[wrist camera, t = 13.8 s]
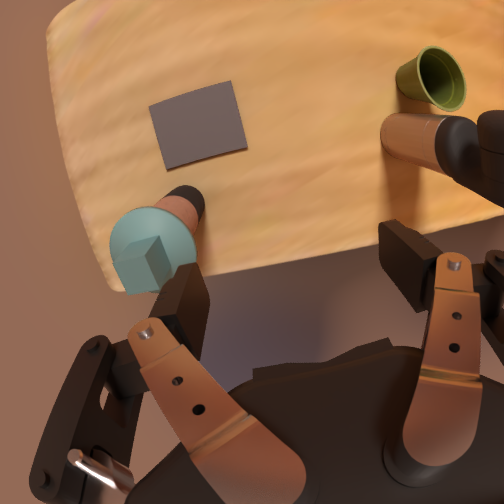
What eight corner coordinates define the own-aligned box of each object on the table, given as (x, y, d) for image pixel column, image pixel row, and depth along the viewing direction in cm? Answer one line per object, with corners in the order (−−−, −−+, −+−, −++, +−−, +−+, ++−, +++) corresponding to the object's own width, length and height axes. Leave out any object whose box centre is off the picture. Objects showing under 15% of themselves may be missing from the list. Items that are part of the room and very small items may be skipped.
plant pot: (404, 119, 41) (438, 122, 31) (374, 66, 37) (404, 55, 27) (440, 98, 38) (475, 99, 28) (413, 48, 34) (446, 39, 24)
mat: (230, 81, 39) (230, 80, 39) (247, 146, 45) (247, 147, 44) (149, 106, 41) (148, 106, 40) (167, 168, 46) (166, 169, 45)
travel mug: (214, 200, 49) (194, 247, 31) (190, 230, 51) (161, 288, 34) (182, 175, 47) (142, 208, 29) (159, 206, 49) (114, 253, 31)
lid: (180, 195, 28) (164, 212, 23) (209, 280, 33) (202, 310, 28) (100, 220, 29) (75, 240, 24) (133, 294, 34) (118, 323, 29)
